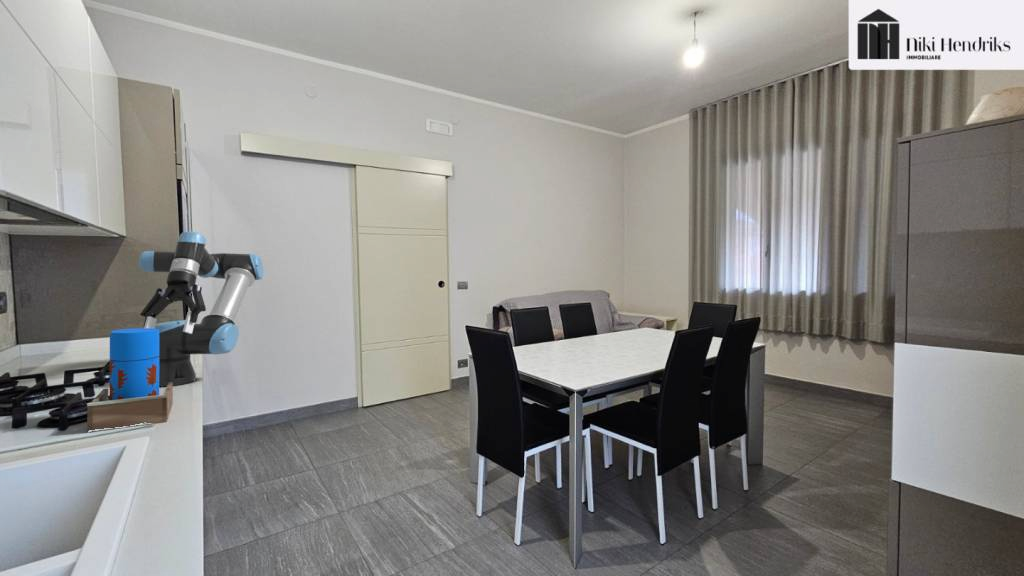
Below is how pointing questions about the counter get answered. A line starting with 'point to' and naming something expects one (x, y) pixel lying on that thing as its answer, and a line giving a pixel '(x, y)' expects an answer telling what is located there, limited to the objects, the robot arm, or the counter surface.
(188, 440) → the counter surface
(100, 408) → the wooden frame
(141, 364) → the thermos
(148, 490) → the counter surface
